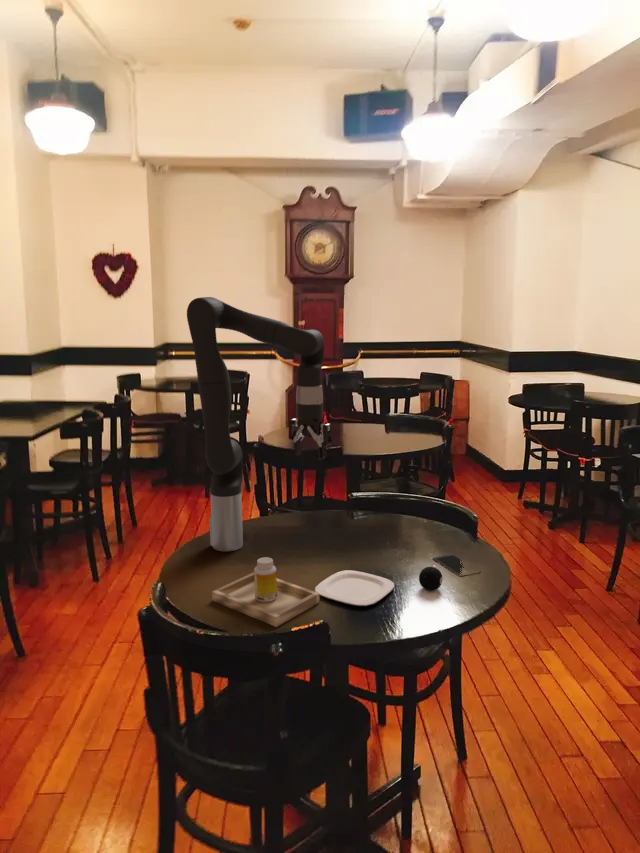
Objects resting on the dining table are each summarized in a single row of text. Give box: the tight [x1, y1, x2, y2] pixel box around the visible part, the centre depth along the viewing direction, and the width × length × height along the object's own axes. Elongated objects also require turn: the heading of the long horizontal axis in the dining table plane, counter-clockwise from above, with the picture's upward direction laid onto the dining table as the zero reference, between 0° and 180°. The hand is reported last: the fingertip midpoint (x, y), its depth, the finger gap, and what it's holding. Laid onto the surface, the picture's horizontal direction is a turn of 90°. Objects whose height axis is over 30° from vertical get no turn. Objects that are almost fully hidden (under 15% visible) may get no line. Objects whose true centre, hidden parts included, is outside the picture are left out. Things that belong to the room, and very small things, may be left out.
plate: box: [314, 569, 395, 607], centre depth 176 cm, size 18×18×2 cm
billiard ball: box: [418, 566, 443, 591], centre depth 177 cm, size 6×6×6 cm
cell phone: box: [432, 553, 464, 575], centre depth 192 cm, size 7×14×1 cm, turn 24°
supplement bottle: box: [253, 556, 278, 602], centre depth 170 cm, size 6×6×10 cm
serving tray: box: [211, 571, 320, 628], centre depth 170 cm, size 22×16×2 cm
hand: (310, 457), depth 194 cm, fingers open, 8 cm apart
